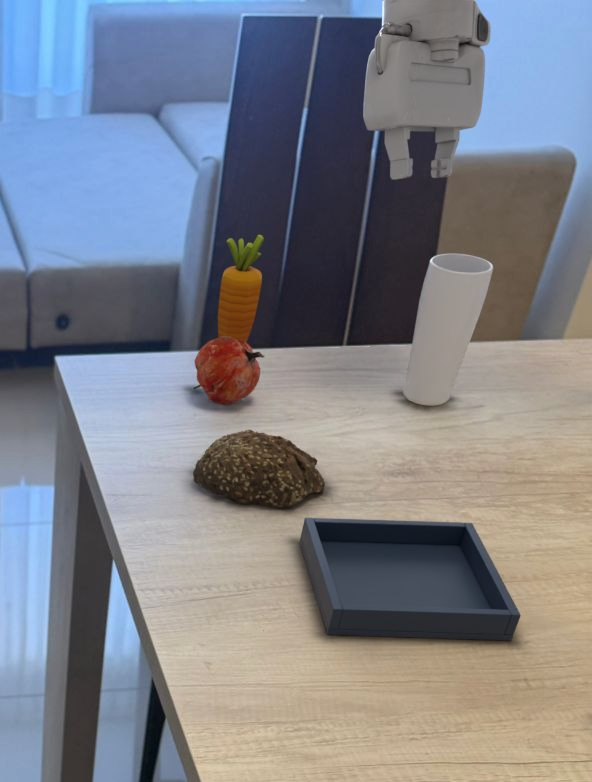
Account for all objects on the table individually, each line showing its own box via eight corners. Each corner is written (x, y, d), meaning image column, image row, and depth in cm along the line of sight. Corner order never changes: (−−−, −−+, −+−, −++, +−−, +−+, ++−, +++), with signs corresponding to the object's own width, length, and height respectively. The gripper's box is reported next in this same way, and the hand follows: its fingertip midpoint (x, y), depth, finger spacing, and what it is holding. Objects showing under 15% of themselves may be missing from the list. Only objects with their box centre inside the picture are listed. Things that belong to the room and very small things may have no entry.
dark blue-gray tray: (464, 547, 110) (472, 522, 108) (511, 640, 98) (521, 615, 96) (299, 541, 110) (304, 517, 108) (327, 634, 98) (333, 609, 97)
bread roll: (175, 485, 118) (181, 439, 115) (233, 442, 125) (240, 398, 122) (289, 523, 112) (299, 476, 109) (343, 476, 120) (353, 431, 116)
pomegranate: (180, 422, 134) (242, 392, 126) (163, 359, 133) (225, 325, 125) (224, 412, 138) (287, 383, 130) (208, 351, 137) (270, 318, 129)
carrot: (201, 367, 141) (219, 236, 130) (219, 354, 144) (238, 225, 133) (238, 377, 139) (259, 244, 128) (256, 364, 142) (277, 233, 131)
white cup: (438, 415, 131) (477, 278, 121) (384, 398, 134) (418, 263, 124) (465, 397, 135) (505, 262, 125) (412, 381, 138) (446, 248, 128)
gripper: (409, 12, 110) (404, 174, 116) (498, 26, 123) (490, 172, 129) (348, 28, 114) (346, 184, 120) (440, 40, 127) (435, 181, 133)
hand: (421, 178), depth 124 cm, fingers open, 8 cm apart
